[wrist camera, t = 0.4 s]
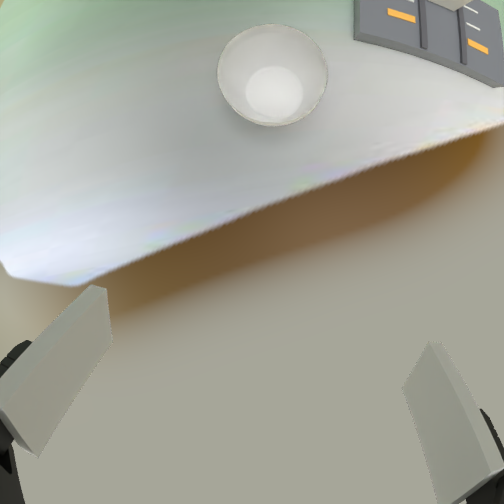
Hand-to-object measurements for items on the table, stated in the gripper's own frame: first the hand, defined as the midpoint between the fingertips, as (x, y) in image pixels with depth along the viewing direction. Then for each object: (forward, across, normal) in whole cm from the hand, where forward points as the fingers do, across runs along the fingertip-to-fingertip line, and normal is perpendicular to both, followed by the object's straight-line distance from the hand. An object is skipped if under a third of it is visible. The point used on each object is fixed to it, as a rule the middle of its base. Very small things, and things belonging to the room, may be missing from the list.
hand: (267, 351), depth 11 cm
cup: (+28, -2, +13) cm, 30 cm away
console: (+27, +16, +29) cm, 43 cm away
